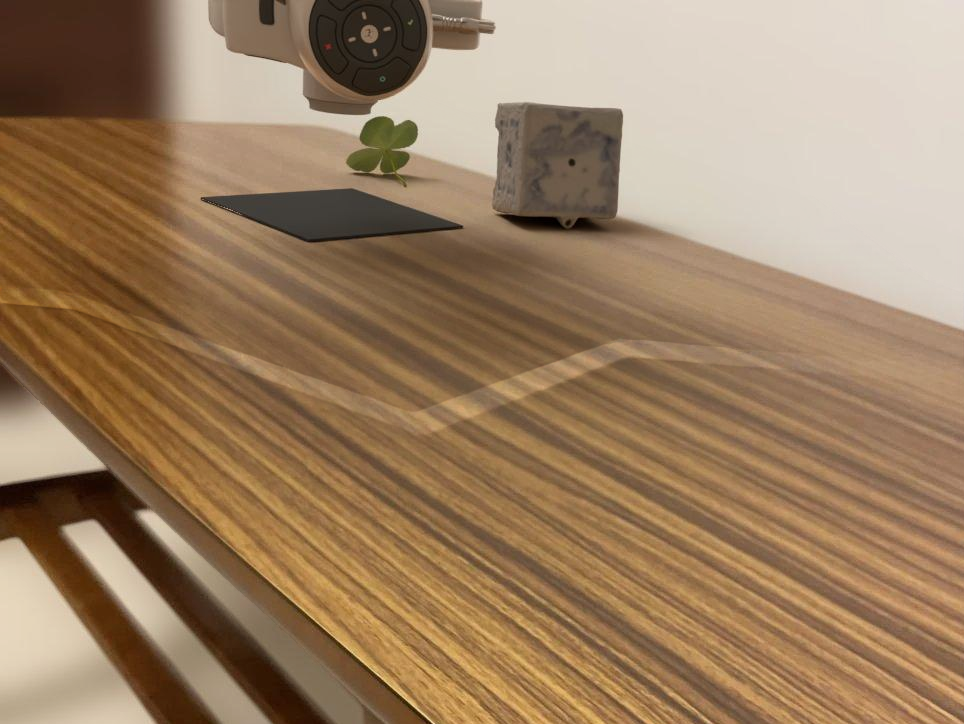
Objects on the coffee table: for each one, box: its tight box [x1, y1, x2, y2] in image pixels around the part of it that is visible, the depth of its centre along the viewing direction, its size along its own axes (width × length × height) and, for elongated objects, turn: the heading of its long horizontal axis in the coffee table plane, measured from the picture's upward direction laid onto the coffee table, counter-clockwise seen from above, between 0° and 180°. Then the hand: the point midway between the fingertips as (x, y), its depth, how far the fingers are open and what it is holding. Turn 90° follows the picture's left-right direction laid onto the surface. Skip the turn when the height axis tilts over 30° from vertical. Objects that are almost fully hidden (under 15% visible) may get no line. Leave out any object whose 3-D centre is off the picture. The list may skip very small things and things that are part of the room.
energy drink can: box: [302, 69, 379, 116], centre depth 97 cm, size 6×6×15 cm
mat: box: [200, 187, 464, 243], centre depth 106 cm, size 16×16×1 cm
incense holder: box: [491, 101, 624, 229], centre depth 111 cm, size 10×8×10 cm
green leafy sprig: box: [345, 115, 419, 188], centre depth 122 cm, size 7×8×6 cm
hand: (342, 3), depth 98 cm, fingers closed on energy drink can, 6 cm apart
